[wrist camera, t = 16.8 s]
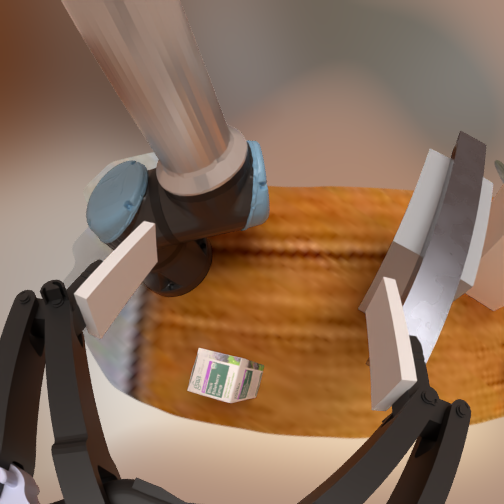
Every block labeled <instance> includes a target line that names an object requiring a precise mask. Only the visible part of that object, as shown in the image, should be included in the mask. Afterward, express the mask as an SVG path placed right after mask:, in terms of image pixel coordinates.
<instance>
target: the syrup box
mask: <svg viewBox="0 0 504 504" xmlns="http://www.w3.org/2000/svg"><path fill="white" fill-rule="evenodd" d="M263 369H264V365H262V364H258V363H255V362H252V361H250V360H247V359H244V358H240V357H235V356H231V355H227V354H222V353H218V352H214V351H210V350H206V349H202V348H199V349H198V353H197V357H196V360H195V363H194V366H193V370H192V373H191V378H190V382H189V386H188V391H190V392H193V393H196V394H200V395H203V396H206V397H210V398H213V399H217V400H220V401H224V402H227V403H234V402H238V401H242V400H246V399H251V398H256V396H257V393H258V389H259V386H260V381H261V377H262V373H263Z"/></svg>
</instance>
